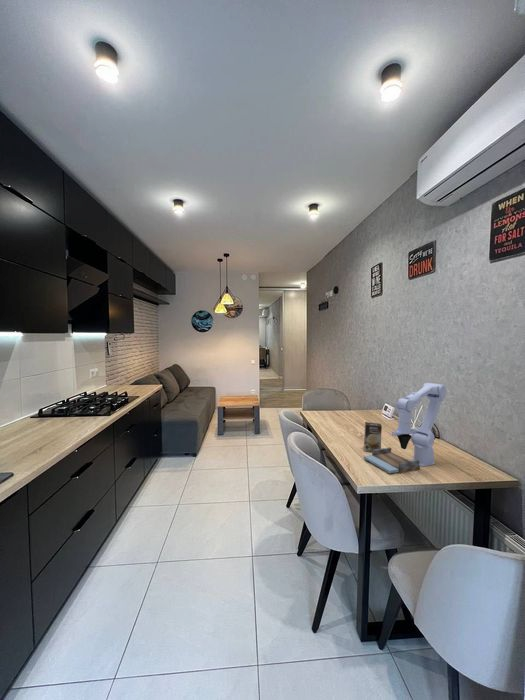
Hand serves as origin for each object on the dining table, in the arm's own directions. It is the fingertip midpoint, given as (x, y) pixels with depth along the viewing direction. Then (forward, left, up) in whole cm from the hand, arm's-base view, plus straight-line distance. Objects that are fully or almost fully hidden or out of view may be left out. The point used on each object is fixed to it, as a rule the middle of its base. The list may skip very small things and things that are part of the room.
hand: (403, 448), depth 152 cm
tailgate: (+6, -6, -8) cm, 12 cm away
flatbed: (-1, -6, -10) cm, 12 cm away
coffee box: (-2, -25, -11) cm, 27 cm away
